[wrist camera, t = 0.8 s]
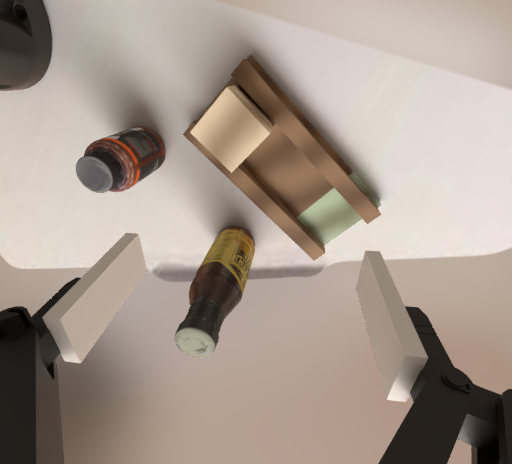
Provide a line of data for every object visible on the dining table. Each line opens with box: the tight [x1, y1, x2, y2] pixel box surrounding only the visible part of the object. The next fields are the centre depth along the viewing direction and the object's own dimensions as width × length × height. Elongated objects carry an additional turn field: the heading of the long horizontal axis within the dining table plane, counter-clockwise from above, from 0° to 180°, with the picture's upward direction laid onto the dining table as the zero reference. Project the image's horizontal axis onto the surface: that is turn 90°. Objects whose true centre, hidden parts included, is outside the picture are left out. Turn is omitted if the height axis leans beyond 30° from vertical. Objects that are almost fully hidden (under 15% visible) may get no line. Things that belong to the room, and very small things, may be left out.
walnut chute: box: [183, 55, 381, 260], centre depth 36 cm, size 24×12×3 cm, turn 45°
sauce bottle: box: [175, 227, 255, 358], centre depth 36 cm, size 7×6×20 cm
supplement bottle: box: [76, 127, 165, 193], centre depth 34 cm, size 6×6×11 cm
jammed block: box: [190, 85, 275, 173], centre depth 32 cm, size 6×6×6 cm
